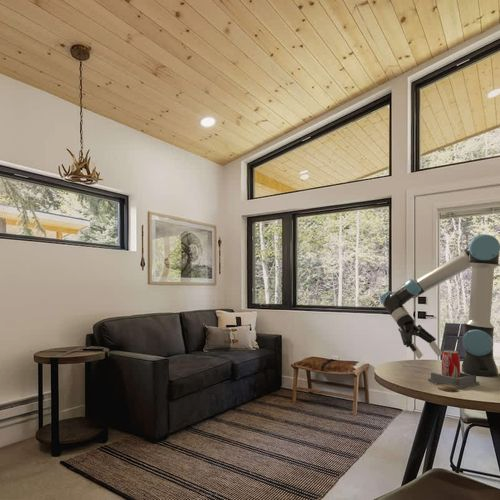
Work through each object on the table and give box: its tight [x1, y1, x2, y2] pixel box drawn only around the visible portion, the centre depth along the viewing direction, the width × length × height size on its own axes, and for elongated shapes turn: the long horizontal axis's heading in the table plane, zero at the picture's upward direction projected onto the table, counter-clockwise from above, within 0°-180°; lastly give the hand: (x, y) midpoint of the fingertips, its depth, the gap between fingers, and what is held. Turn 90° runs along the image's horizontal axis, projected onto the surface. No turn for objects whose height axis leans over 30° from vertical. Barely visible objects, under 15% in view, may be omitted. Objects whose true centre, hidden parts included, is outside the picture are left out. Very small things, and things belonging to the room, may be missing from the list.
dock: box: [427, 371, 480, 390], centre depth 170 cm, size 14×14×4 cm
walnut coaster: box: [437, 384, 458, 393], centre depth 161 cm, size 7×7×1 cm
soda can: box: [441, 349, 461, 378], centre depth 172 cm, size 7×7×12 cm
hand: (430, 355), depth 180 cm, fingers open, 13 cm apart
